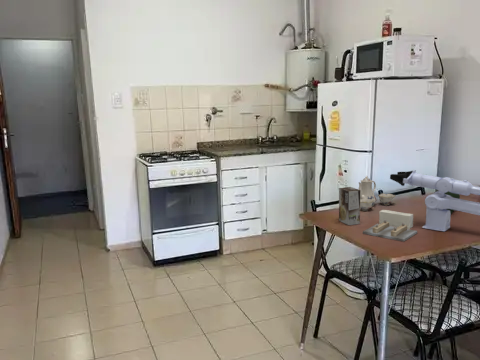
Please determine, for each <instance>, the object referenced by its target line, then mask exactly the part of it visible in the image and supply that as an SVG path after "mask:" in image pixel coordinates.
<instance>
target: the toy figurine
mask: <svg viewBox="0 0 480 360" xmlns="http://www.w3.org/2000/svg"><path fill="white" fill-rule="evenodd" d="M444 194H446V195H450V196H451V197H453V198H458V199H461V194H456V193H451V192H449V191H448V192H446V193H444ZM446 210H450V213H451V215H452V214H453V213H454V211H455V210H453V209H446Z"/></svg>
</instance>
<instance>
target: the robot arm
mask: <svg viewBox="0 0 480 360" xmlns="http://www.w3.org/2000/svg"><path fill="white" fill-rule="evenodd" d="M416 171H417V170H415V169H413V170H410V171H397V173H393V174H392V173H391V174H389V175H390V176H389V179H390V180H392V181H393V182H396V183H398V184H399V185H400V186H401V187H405V184H406V185H407V184H408V185H409V186H415V187H420V188H425V189H431V190H437V191H435V192H433V193H432V194H428V195H426V198H425V199H424V203H425V206H426V207H425V208H426V210H425V213H426V214H425V224H424V225H423V226H421V227H422V228H423V229H428V230H432V231H440V232H446V231H448V230H449V229H450V228H451V215H452V214H451V213H450V210H446V209H453V210H454V211H459V212H462V213H467V214H472V215H476V216H480V202H477V201H474V200H473V201H472V200H467V199H463V198H460V199H458V198H453V197H451V196H450V195H446V194H444V193H446V192H448V191H449V192H451V193H456V194H459V195H460V196H461V195H462V196H470V195H471V194H472V195H475V196H480V186H478V185H473V184H472V182H470V181H468V180H467V179H463V180H460V179H459V180H458V179H455V178H454V177H449V176H444V177H441V176H440V177H439V176H436V175H431V174H424V173H419V172H416Z"/></svg>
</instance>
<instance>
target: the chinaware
mask: <svg viewBox="0 0 480 360" xmlns="http://www.w3.org/2000/svg"><path fill="white" fill-rule="evenodd" d="M364 177H365V178H363V179H361V180H360V181H359V182H358V185H359V186H358V188H357V189H358V190H361V191H360V211H365V212H368V210H369V209H370V208H373V207H375V204H376V203H377V200H378V199H377V197H376V195H375V191H376V188H377V185H376V182H375V181H374V180H373V179H371V178H369V177H368V175H366V176H364ZM395 197H396V194H393V193H387V194H386V193H380V194H378V198H379V200H380V202H381V203H382V204H383V206H390V204H391V203H393V201H394V199H395Z"/></svg>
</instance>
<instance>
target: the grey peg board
mask: <svg viewBox="0 0 480 360" xmlns="http://www.w3.org/2000/svg"><path fill="white" fill-rule="evenodd" d="M362 234H363V235H367V236H368V235H369V236H373V237H378V238H383V239H389V240H394V241H398V242H403V243H404V242H405V241H407V240H409V239H410V238H412V237H413V236H415V235H417V234H418V230H415V229H411V228H410V229H407V225H404V222H402V225H401V226H399V227H395V226H390V225H389V222H386V219H384V222H383V223H381V224H379V223H375V224H374V225H372V226H370V227H369V228H367V229H365V230H362Z"/></svg>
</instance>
